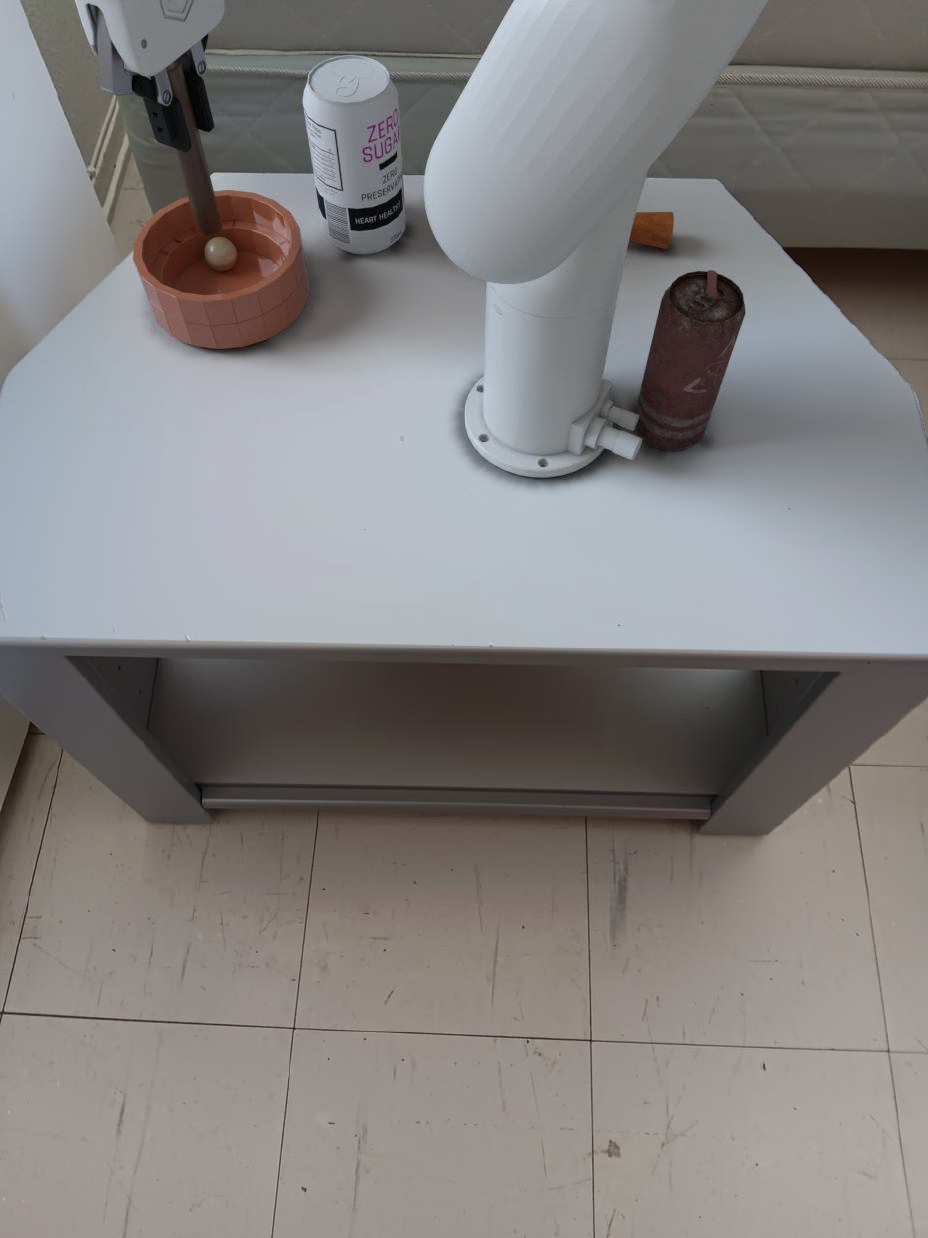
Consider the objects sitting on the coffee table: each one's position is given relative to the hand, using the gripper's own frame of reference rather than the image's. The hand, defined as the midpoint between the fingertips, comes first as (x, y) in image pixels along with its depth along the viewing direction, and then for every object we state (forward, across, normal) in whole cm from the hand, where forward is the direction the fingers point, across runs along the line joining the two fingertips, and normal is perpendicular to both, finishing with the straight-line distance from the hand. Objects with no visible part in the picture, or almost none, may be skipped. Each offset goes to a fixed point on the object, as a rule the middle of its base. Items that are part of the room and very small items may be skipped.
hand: (185, 133), depth 72 cm
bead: (+14, +2, +2) cm, 14 cm away
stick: (+9, 0, 0) cm, 9 cm away
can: (+16, +5, -42) cm, 46 cm away
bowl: (+16, 0, 0) cm, 16 cm away
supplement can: (+16, +14, -6) cm, 22 cm away
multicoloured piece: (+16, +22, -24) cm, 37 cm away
